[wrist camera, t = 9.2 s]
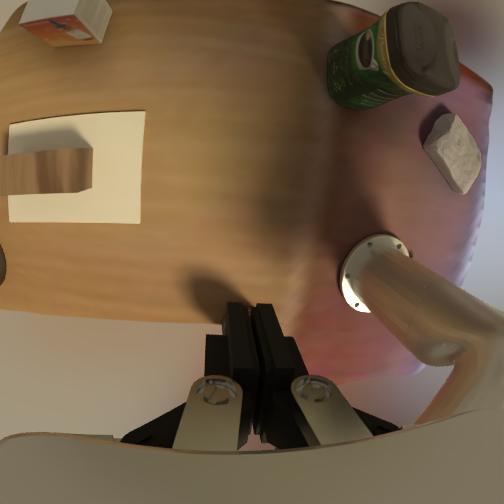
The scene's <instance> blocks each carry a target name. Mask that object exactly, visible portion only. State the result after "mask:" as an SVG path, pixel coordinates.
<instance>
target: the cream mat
mask: <svg viewBox="0 0 504 504" xmlns="http://www.w3.org/2000/svg"><path fill="white" fill-rule="evenodd" d="M145 116H146V112H145V111H138V112H112V113H96V114H83V115H73V116H64V117H55V118H48V119H41V120H34V121H28V122H22V123H16V124H11V125H10V128H9V141H8V155H12V154H19V153H28V152H37V151H47V150H58V149H72V148H93V169H92V188H90V189H87V190H84V191H81V192H78V193H54V194H28V195H8V207H9V221H10V222H84V223H135V224H140V223H141V174H142V155H143V140H144V127H145Z"/></svg>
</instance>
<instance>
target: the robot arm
mask: <svg viewBox="0 0 504 504" xmlns="http://www.w3.org/2000/svg"><path fill="white" fill-rule="evenodd" d="M340 290H341V293H342V296H343V297H344V299H345V301H346V302H347V303H348V304H349V305H350V306H351V307H352V308H354V309H355V310H358V311H360V312H371V313H372V314H373V315H374V316H375V317H376V318H377V319H378V320H379V321H380V322H381V323H382V324H383V325H384V326H385V327H386V328H387V329H388V330H389V331H390V332H391V333H392V334H393V335H394V336H395V337H396V338H397V339H398V340H399V341H400V342H401V343H402V344H403V345H404V347H405V348H406V349H407V350H408V351H409V352H410V353H411V354H412V355H413V356H414V357H415V358H416V359H417V360H419V361H420V362H422V363H424V364H426V365H429V366H435V367H443V366H452V365H454V368H453V370H452V372H451V373H450V375H449V377H448V378H447V380H446V382H445V383H444V385H443V386H442V387H441V389H440V390H439V391H438V393H437V394H436V395H435V396H434V398H433V399H432V400H431V402H430V403H429V404H428V405H427V407H426V408H425V409H424V410H423V412H422V413H421V414H420V416H419V417H418V418H417V419H416V421H415V422H414V423H413V425H402V426H401V427H400V428H398V427H397V426H396V425H394V424H392V423H390V422H387V421H385V420H382V419H380V418H377V417H375V416H372V415H370V414H368V413H365V412H363V411H360V410H358V409H356V408H353V407H351V405H350V404H349V403H348V401H347V400H346V399H345V397H344V396H343V395H342V394H341V392H340V391H339V389H338V388H337V386H336V385H335V384H334V383H333V382H332V381H330V380H329V379H327V378H325V377H322V376H318V375H309V373H308V371H307V369H306V366H305V364H304V361H303V359H302V357H301V354H300V352H299V349H298V347H297V345H296V342H295V340H294V338H293V337H284V335H283V333H282V330H281V327H280V325H279V322H278V319H277V316H276V314H275V311H274V308H273V306H272V304H261V303H257V305H256V307H251V312H250V317H249V312H248V307H243V306H242V303H237V302H227V310H226V324H225V335H209V334H207V335H206V347H205V349H206V350H205V374H204V377H202V378H200V379H198V380H197V381H195V382H194V383H193V385H192V387H191V390H190V393H189V396H188V399H187V402H185V403H183V404H182V405H180V406H178V407H176V408H174V409H173V410H171V411H169V412H167V413H165V414H164V415H162V416H160V417H158V418H156V419H154V420H152V421H151V422H149V423H147V424H145V425H143V426H141V427H139V428H137V429H135V430H133V431H131V432H129V433H128V434H126V435H125V436H124V437H123V438H121V439H120V438H115V439H114V438H113V435H86V434H67V433H50V432H30V433H19V434H14V435H10V436H8V437H5V438H4V439H2V440H0V504H504V312H503V311H501V310H499V309H497V308H495V307H493V306H491V305H489V304H487V303H485V302H483V301H482V300H480V299H478V298H476V297H475V296H473V295H471V294H469V293H468V292H466V291H465V290H463V289H462V288H460V287H458V286H457V285H455V284H453V283H452V282H450V281H448V280H447V279H445V278H443V277H442V276H440V275H438V274H437V273H435V272H433V271H432V270H430V269H428V268H427V267H425V266H423V265H422V264H420V263H418V262H417V261H415V260H413V259H411V258H410V257H409V253H408V251H407V248H406V247H405V245H404V244H403V243H402V242H401V241H400V240H399V239H397V238H395V237H393V236H391V235H388V234H376V235H372V236H369V237H367V238H365V239H364V240H362V241H360V242H359V243H358V244H357V245H356V246H355V247H354V248H353V249H352V250H351V251H350V253H349V254H348V256H347V257H346V259H345V261H344V264H343V266H342V269H341V273H340ZM252 423H253V429H254V434H255V435H260V439H261V443H270V444H272V445H273V446H275V450H261V451H237V450H238V449H240V448H241V447H242V446H243V445H245V444H246V443H247V440H248V435H250V433H251V427H252Z"/></svg>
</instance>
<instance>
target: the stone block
mask: <svg viewBox="0 0 504 504" xmlns="http://www.w3.org/2000/svg"><path fill="white" fill-rule="evenodd" d="M423 148H424V150H425V152H426V153H427V154H428V156H429V157H430V158H431V160H432V161H433V162H434V164H435V165H436V167H437V168H438V169H439V171H440V172H441V174H442V175H443V176H444V178H445V179H446V181H447V182H448V184H449V186H450V187H451V188H452V190H453V191H454V192H456V193H458V194H465V193H466V192H468V190H469V188H470V187H471V185H472V183H473V182H474V180H475V179H476V177H477V175H478V173H479V171H480V166H481V153H480V150H479V149H478V148H477V146H476V142H475V140H474V139H473V137H472V136H471V134H470V133H469V132H468V130H467V128H466V127H465V125H464V124H463V123H462V121H461V119H460V118H459V117H458V116H457V115H456V114H452V113H448V114H443V115H441V116H440V117H439V118H438V119H437V120H436V121H435V123H434V126H433V127H432V131H431V132H430V134H429V135H428V136H427V139H426V141H425V142H424V144H423Z"/></svg>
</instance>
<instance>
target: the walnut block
mask: <svg viewBox="0 0 504 504" xmlns="http://www.w3.org/2000/svg"><path fill="white" fill-rule="evenodd" d="M92 169H93V148H72V149H58V150H47V151H37V152H28V153H19V154H12V155H4V156H0V196H8V195H28V194H54V193H78V192H81V191H84V190H87V189H90V188H92Z"/></svg>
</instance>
